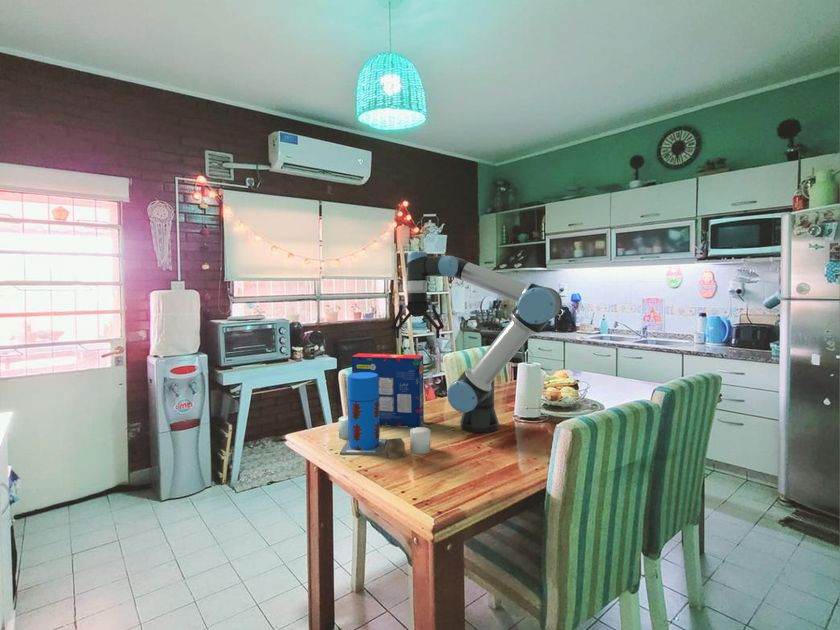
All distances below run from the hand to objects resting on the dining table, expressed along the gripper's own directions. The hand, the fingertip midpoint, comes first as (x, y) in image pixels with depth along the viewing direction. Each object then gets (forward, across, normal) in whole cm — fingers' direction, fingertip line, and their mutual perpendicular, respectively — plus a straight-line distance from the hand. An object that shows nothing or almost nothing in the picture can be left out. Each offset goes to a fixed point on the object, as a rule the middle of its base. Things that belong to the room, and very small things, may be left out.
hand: (417, 346), depth 177 cm
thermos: (+32, +18, +20) cm, 42 cm away
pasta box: (+33, +13, -8) cm, 36 cm away
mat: (+33, +18, +20) cm, 42 cm away
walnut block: (+33, +6, +27) cm, 43 cm away
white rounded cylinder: (+33, -2, +22) cm, 40 cm away
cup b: (+33, +26, +9) cm, 43 cm away
